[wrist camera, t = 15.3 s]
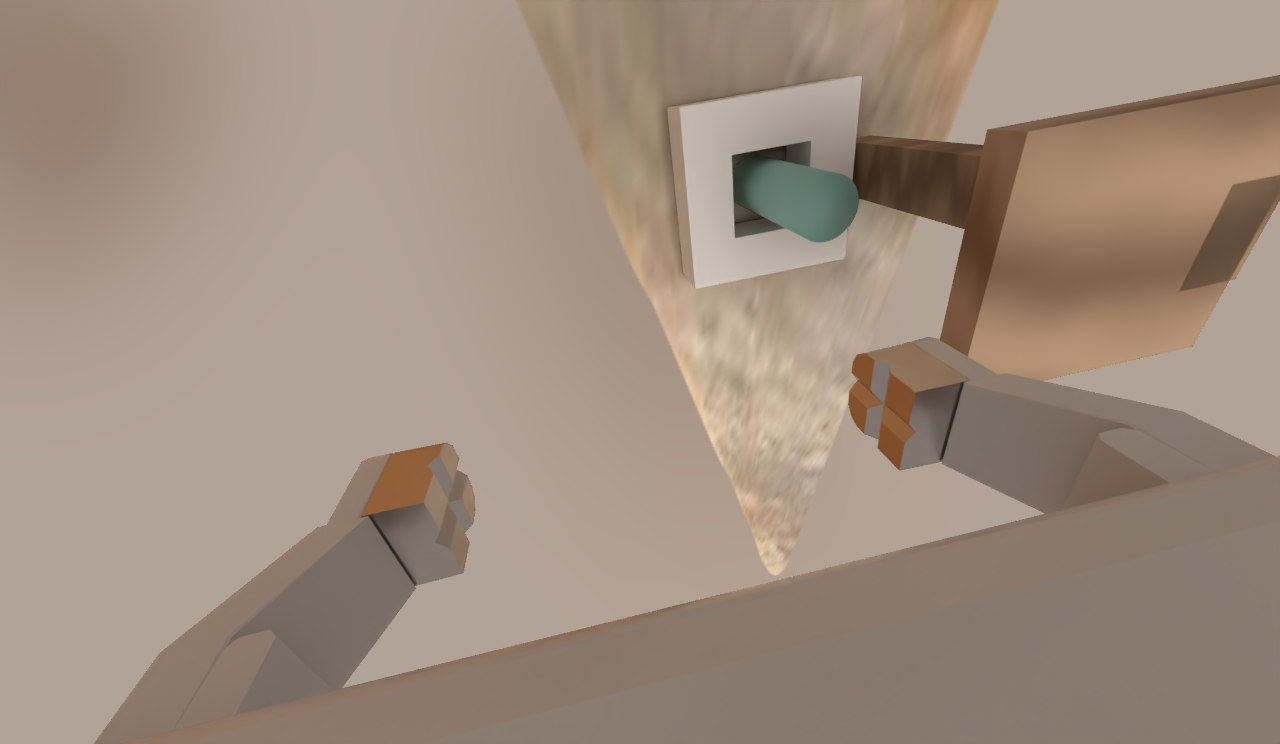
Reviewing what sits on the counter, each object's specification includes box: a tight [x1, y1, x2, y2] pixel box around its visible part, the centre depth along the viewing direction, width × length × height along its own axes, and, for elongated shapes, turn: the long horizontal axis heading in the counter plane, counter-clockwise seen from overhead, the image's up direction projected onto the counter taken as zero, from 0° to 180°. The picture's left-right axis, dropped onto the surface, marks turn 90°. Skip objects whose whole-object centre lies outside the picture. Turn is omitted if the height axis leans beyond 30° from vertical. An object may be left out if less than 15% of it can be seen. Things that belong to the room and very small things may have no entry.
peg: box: [732, 155, 859, 243], centre depth 32 cm, size 4×4×12 cm
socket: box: [667, 76, 862, 289], centre depth 36 cm, size 13×13×4 cm
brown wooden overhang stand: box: [852, 75, 1280, 381], centre depth 27 cm, size 10×11×25 cm
